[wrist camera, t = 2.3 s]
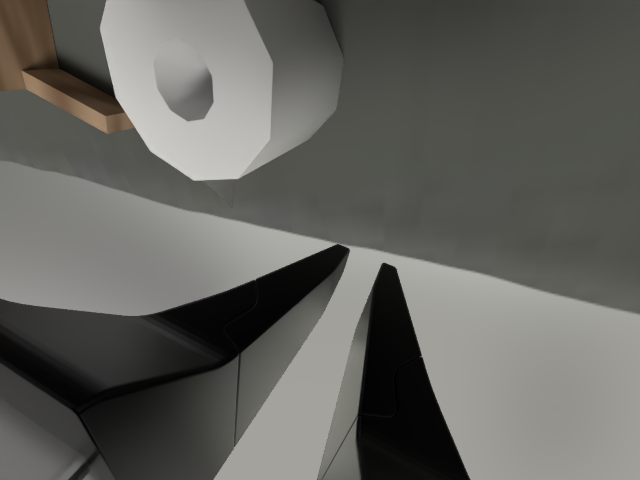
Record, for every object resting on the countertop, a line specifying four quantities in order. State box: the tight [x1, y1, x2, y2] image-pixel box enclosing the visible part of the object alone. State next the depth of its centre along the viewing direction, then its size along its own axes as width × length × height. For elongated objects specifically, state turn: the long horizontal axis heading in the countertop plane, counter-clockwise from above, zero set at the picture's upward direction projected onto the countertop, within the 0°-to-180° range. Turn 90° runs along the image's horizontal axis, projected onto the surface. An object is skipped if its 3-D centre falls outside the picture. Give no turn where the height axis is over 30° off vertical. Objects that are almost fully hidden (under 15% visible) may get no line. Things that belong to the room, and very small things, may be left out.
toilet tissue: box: [100, 0, 344, 208], centre depth 18 cm, size 9×13×9 cm
